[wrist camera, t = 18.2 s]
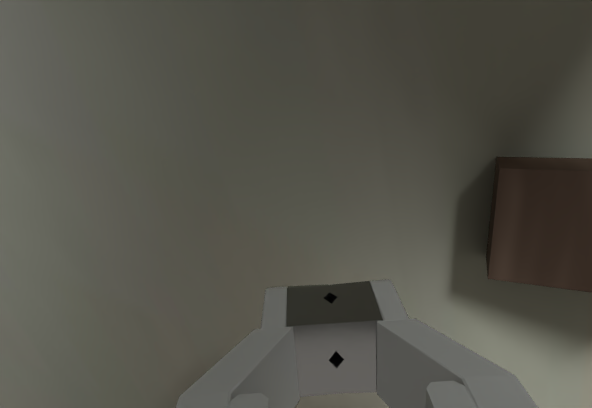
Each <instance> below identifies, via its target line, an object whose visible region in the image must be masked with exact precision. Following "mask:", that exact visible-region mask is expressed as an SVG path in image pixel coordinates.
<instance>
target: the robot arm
mask: <svg viewBox="0 0 592 408" xmlns="http://www.w3.org/2000/svg"><path fill="white" fill-rule="evenodd" d="M363 392H377V394H378V395H379V396H380V398H381V399H382V400H383V401H384V402H385V403H386V404H387V405H388V406H389V407H390V408H538V406H537V405H536V404H535V402H534V401H533V399H532V398H531V397H530V395H529V394H528V392H527V391H526V390H525V388H524V387H523V385H522V384H521V383H520V381H519V380H518V379H517V377H516V376H515V375H514V374H512V373H510V372H508V371H507V370H505V369H503V368H501V367H500V366H498V365H496V364H494V363H493V362H491V361H489V360H487V359H486V358H484V357H482V356H480V355H479V354H477V353H475V352H473V351H472V350H470V349H468V348H466V347H465V346H463V345H461V344H459V343H458V342H456V341H454V340H452V339H451V338H449V337H447V336H445V335H444V334H442V333H440V332H438V331H437V330H435V329H433V328H431V327H430V326H428V325H426V324H424V323H423V322H421V321H419V320H417V319H416V318H415V319H409V317H408V315H407V313H406V311H405V308H404V306H403V304H402V302H401V300H400V298H399V296H398V294H397V291H396V289H395V287H394V285H393V283H392V281H391V280H390V279H384V280H375V281H365V282H354V283H344V284H333V285H328V284H327V285H306V286H288V287H286V286H282V287H271V288H267V289H266V290H265V296H264V304H263V312H262V320H261V328H260V329H254V330H253V331H252V332H251V333H250V334H248V335H247V336H246V337H245V338H244V339H243V340H242V341H241V342H240V343H238V344H237V345H236V346H235V347H234V348H233V349H232V350H231V351H229V352H228V353H227V354H226V355H225V356H224V357H223V358H222V359H220V360H219V361H218V362H217V363H216V364H215V365H214V366H213V367H212V368H210V369H209V370H208V371H207V372H206V373H205V374H204V375H203V376H201V377H200V378H199V379H198V380H197V381H196V382H195V383H194V384H192V385H191V386H190V387H189V388H188V389H187V390H186V391H185V392H184V393H182V394H181V395H180V396H179V399H178V402H177V405H176V408H295V406H296V405H297V403H298V401H299V400H300V397H304V396H315V395H325V394H336V393H363Z"/></svg>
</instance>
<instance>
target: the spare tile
mask: <svg viewBox="0 0 592 408" xmlns="http://www.w3.org/2000/svg"><path fill="white" fill-rule="evenodd" d="M486 261H487V273H488V279H494V280H501V281H509V282H517V283H524V284H532V285H540V286H547V287H555V288H563V289H570V290H578V291H586V292H592V159H583V158H532V157H497V158H496V167H495V177H494V187H493V196H492V206H491V216H490V225H489V235H488V244H487V254H486Z"/></svg>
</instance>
